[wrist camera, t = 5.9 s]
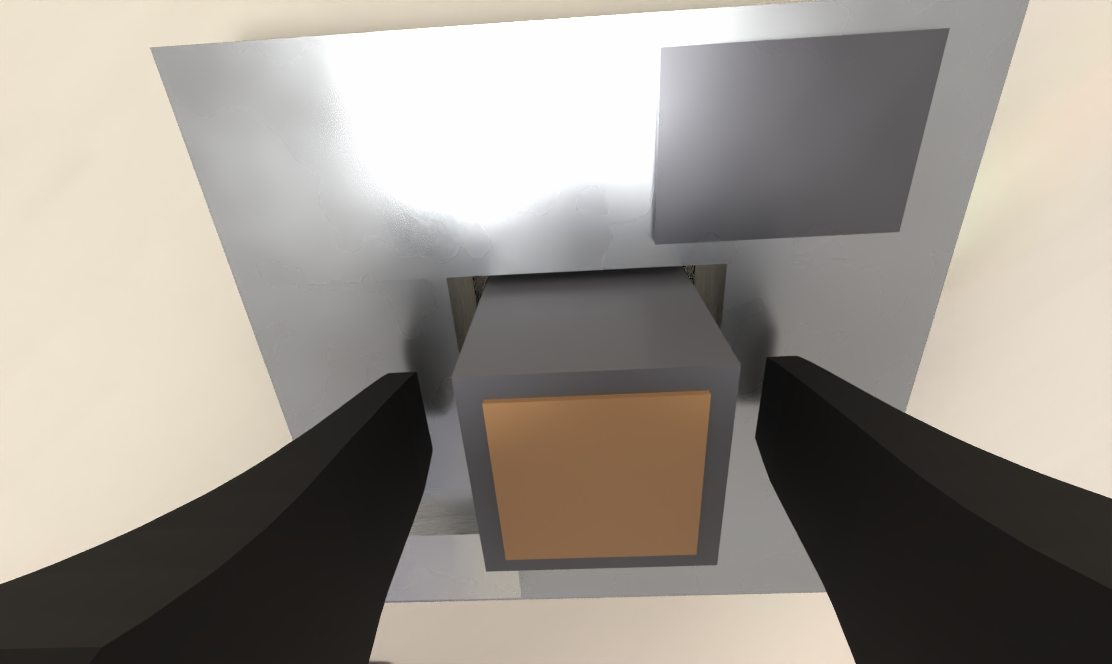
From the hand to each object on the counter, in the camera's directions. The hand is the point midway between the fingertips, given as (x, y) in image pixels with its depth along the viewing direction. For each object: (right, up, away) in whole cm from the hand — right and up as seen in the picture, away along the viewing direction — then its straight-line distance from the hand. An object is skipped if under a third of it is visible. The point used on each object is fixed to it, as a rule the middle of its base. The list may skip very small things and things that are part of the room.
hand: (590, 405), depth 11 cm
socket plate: (0, +1, +3) cm, 3 cm away
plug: (0, +2, +3) cm, 3 cm away
